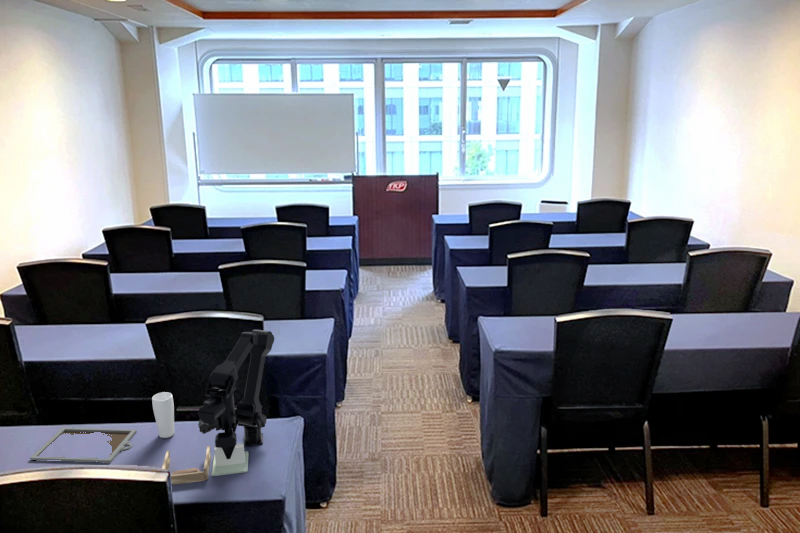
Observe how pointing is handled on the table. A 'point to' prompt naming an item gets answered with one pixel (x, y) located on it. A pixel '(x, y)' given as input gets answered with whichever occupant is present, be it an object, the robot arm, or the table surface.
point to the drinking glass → (164, 413)
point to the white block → (236, 456)
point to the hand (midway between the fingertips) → (229, 450)
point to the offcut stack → (186, 471)
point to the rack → (189, 476)
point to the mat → (230, 467)
